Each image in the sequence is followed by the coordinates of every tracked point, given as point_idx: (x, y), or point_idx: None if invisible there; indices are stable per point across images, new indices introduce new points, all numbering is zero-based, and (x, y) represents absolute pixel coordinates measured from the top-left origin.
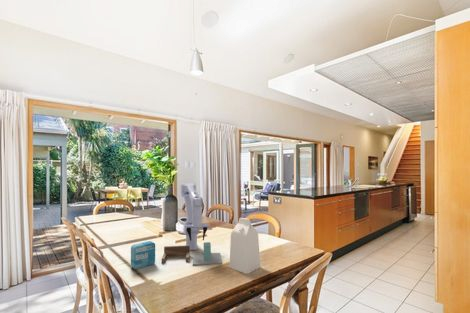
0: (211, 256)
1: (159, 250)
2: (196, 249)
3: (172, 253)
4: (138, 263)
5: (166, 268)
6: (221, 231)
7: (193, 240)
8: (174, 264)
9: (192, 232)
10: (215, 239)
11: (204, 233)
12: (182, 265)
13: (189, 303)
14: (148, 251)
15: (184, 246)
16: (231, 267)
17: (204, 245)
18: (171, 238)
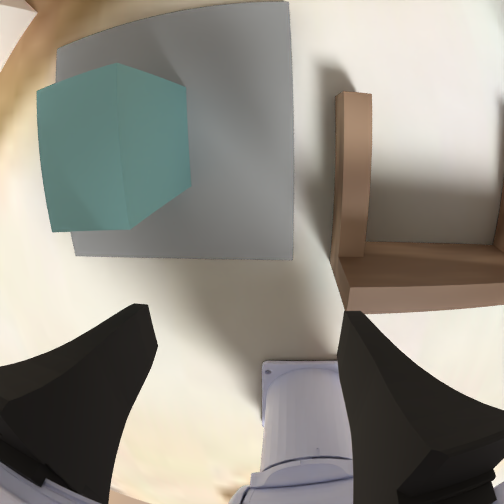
0: None
1: (493, 361)
2: (269, 362)
3: (475, 255)
4: None
5: (476, 25)
6: (166, 498)
7: (294, 425)
8: (444, 73)
9: (303, 492)
10: (169, 458)
11: (55, 356)
12: (379, 31)
13: None
14: None
15: (407, 285)
16: (28, 5)
17: (105, 80)
18: None
